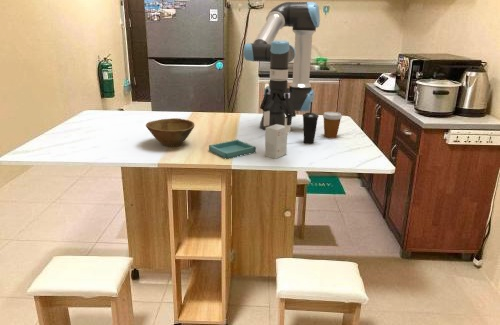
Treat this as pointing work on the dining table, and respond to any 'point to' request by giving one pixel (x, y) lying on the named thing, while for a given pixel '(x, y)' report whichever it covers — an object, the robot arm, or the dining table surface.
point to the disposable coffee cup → (331, 124)
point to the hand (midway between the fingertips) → (276, 129)
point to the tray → (232, 149)
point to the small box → (275, 141)
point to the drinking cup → (309, 126)
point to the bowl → (170, 130)
